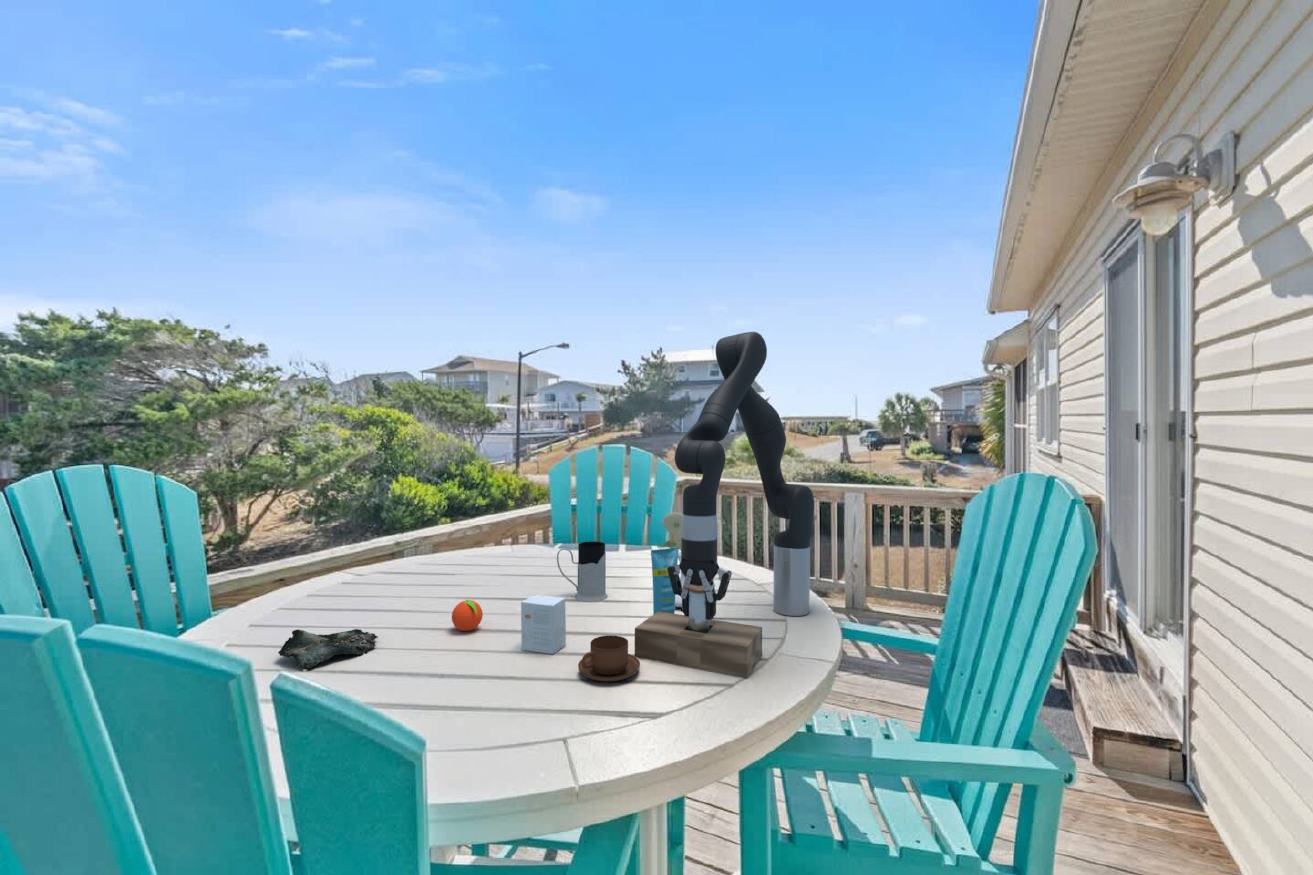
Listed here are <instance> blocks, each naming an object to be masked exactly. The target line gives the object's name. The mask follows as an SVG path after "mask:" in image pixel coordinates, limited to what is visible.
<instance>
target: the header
mask: <svg viewBox="0 0 1313 875" xmlns="http://www.w3.org/2000/svg"><path fill="white" fill-rule="evenodd" d="M634 656H635V657H636V658H639V659H645V660H650V661H655V662H661V663H666V664H670V665H676V666H681V667H685V668H686V667H687V668H691V669H692V668H693V669H696V670H702V671H707V672H713V673H716V674H723V675H727V676H733V677H738V678H739V677H740V678H744V679H748V677H749V676H750V674H751V673H752V671H753V670H754V669H755V667H756V665H757V664H758V662H759V661H760V660H761V658H762V656H763V627H762V626H757V625H751V624H744V623H738V622H732V621H726V620H725V621H724V620H719V619H718V620H717V619H713V618H712V619H711V620H709V631H708V632H707V633H701V632H694V631H688V617H686V616H684V614H679V613H675V614H673V613H666V612H660V611H658V612H656V613H655V614H654V615H653V614H652V615H651V616H650V617H648V618H647V619H645V620H644V621H643V622H641V623H640V624H639V625H637V626H636V627H635V628H634Z"/></svg>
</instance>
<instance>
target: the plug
mask: <svg viewBox="0 0 1313 875" xmlns="http://www.w3.org/2000/svg"><path fill="white" fill-rule="evenodd" d="M710 585H711V583H709V586H710ZM688 590H689V596H688V631H694V632H701V633H707V632H708V631H709V620H707V602H708V599H707V595H706V592H705V591H704V586H703V585H699V584H691V583H690V584H689V588H688Z"/></svg>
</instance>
